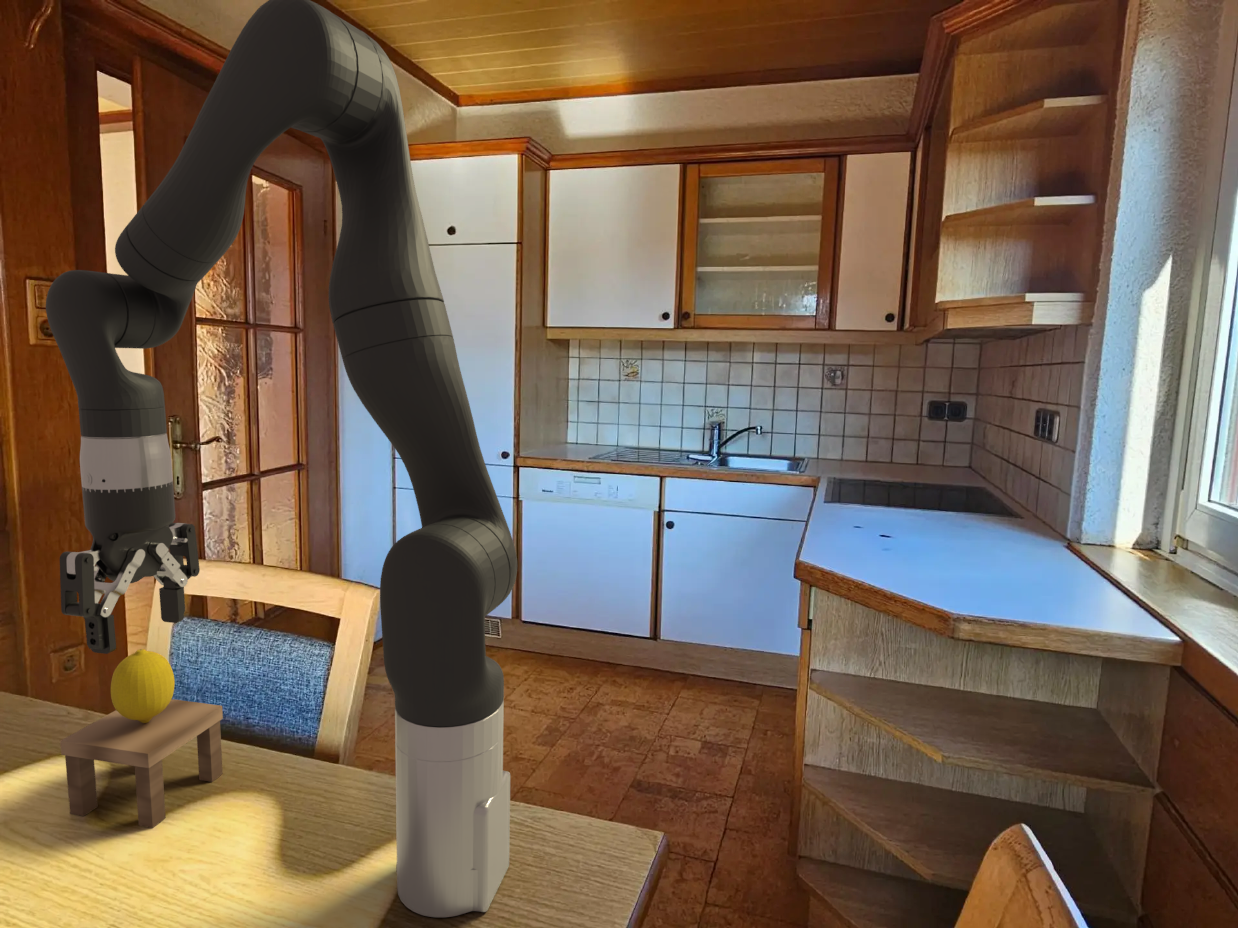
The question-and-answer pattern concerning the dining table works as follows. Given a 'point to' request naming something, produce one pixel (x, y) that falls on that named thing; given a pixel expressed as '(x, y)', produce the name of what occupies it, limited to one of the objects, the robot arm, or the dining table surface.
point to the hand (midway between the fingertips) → (140, 635)
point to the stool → (142, 753)
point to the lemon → (142, 685)
